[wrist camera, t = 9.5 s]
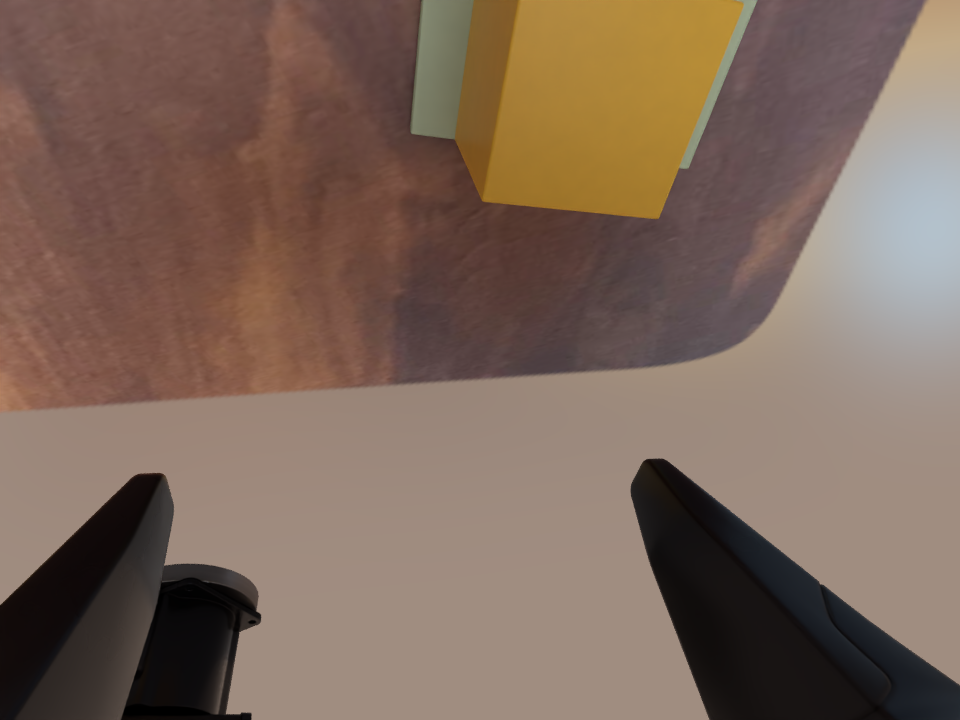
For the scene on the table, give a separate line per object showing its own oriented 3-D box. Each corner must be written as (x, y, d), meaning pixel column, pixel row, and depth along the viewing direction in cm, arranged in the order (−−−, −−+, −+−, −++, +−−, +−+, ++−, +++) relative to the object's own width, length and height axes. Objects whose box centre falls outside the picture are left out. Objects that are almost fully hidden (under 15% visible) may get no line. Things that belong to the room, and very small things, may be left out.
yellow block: (649, -18, 15) (746, 2, 11) (596, 158, 18) (659, 220, 14) (480, -55, 14) (526, -47, 10) (453, 140, 17) (481, 202, 13)
